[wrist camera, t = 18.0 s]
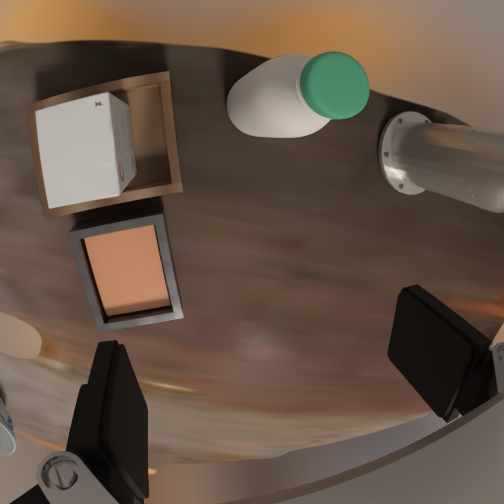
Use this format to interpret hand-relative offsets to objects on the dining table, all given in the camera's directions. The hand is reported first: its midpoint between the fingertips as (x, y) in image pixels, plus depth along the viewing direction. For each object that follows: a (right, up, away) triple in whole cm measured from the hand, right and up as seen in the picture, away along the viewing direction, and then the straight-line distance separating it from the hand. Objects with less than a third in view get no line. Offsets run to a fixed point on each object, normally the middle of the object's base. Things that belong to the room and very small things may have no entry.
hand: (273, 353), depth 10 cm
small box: (-17, +15, +22) cm, 32 cm away
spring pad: (-15, +1, +27) cm, 31 cm away
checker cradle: (-16, +2, +29) cm, 33 cm away
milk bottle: (0, +21, +26) cm, 33 cm away
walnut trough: (-17, +16, +23) cm, 33 cm away
